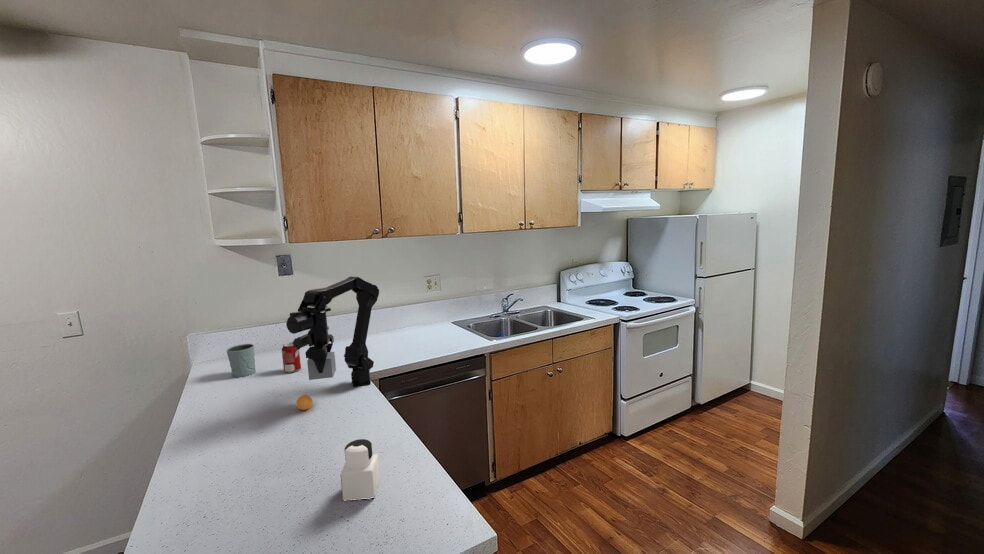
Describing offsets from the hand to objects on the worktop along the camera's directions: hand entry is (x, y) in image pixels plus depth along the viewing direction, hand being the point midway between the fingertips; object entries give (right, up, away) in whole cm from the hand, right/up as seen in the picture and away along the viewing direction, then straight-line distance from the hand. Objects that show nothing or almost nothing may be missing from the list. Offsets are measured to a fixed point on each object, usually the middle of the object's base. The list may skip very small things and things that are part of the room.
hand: (322, 369), depth 148 cm
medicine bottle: (+29, -18, -49) cm, 60 cm away
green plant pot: (-47, -10, +32) cm, 58 cm away
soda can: (-27, -8, +34) cm, 44 cm away
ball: (-4, -10, -4) cm, 12 cm away
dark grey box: (0, -2, 0) cm, 2 cm away
